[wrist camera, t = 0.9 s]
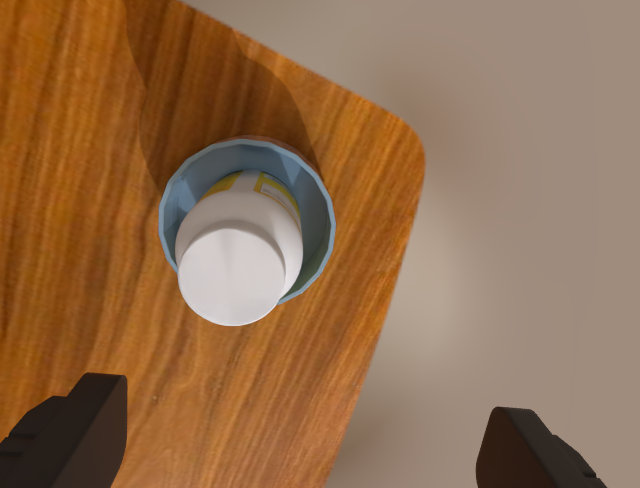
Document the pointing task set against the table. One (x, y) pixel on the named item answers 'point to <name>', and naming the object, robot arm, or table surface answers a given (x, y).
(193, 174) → the grey-blue round dish
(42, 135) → the table surface
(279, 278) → the pill bottle
